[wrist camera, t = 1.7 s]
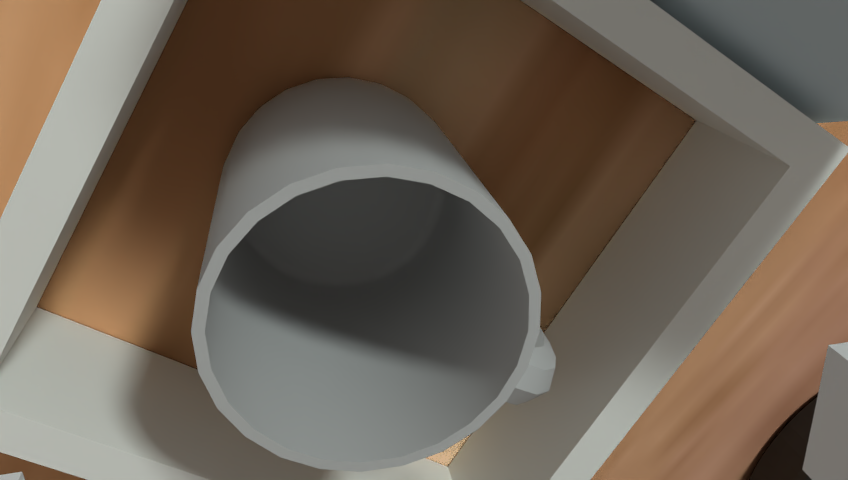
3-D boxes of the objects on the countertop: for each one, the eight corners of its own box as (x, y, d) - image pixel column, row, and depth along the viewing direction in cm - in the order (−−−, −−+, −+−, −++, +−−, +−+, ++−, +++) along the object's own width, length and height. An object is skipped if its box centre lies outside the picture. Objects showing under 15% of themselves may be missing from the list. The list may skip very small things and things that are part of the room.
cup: (304, 22, 21) (320, 88, 13) (560, 198, 25) (695, 333, 17) (177, 223, 23) (122, 390, 15) (435, 359, 27) (504, 553, 18)
